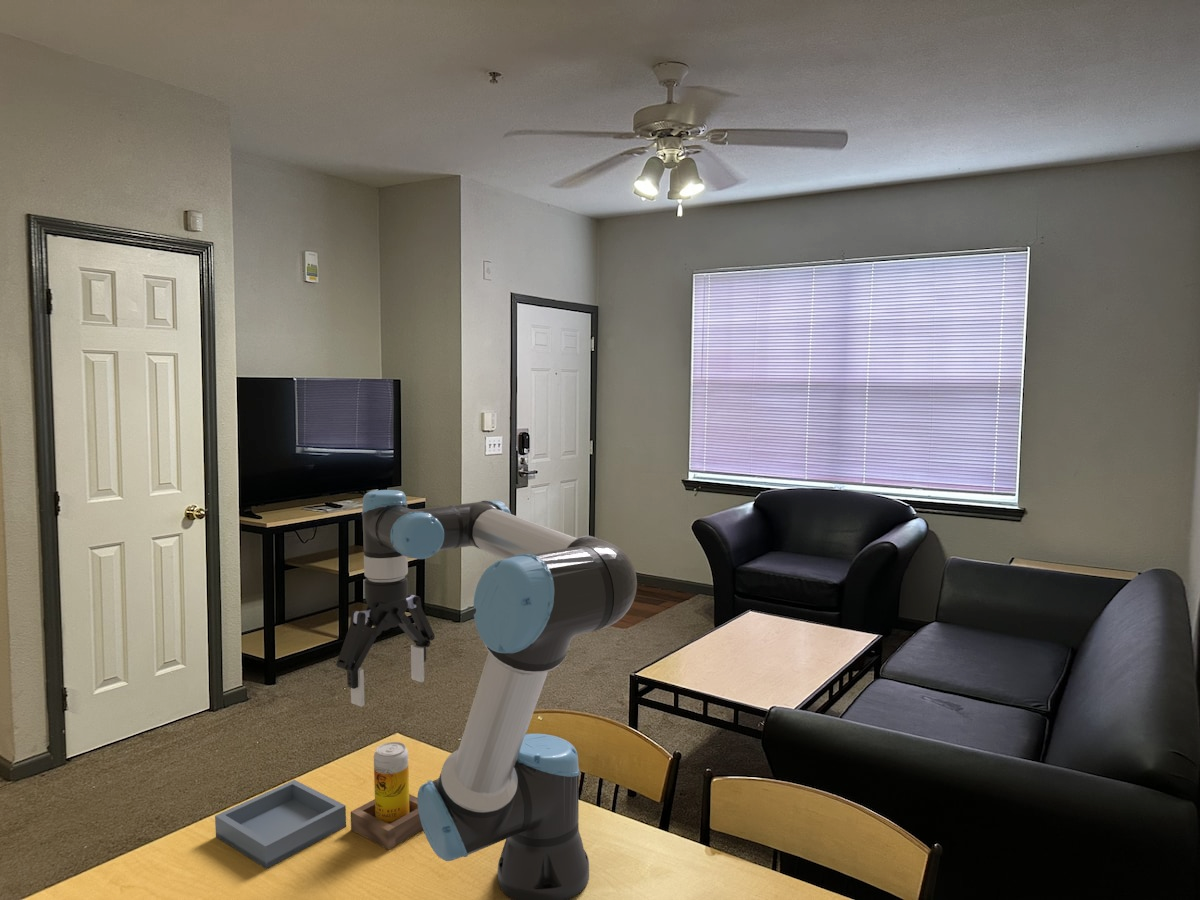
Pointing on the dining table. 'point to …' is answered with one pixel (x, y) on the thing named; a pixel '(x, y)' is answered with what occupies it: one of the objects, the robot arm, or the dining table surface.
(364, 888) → the dining table surface
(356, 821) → the collar holder
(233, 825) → the tray
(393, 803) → the beer can
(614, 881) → the dining table surface
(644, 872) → the dining table surface
